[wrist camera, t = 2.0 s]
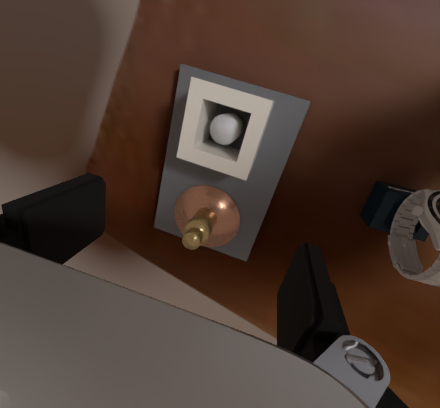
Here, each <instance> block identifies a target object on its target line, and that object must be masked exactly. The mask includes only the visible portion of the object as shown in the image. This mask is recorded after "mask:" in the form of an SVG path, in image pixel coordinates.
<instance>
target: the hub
mask: <svg viewBox="0 0 440 408" xmlns="http://www.w3.org/2000/svg"><path fill="white" fill-rule="evenodd" d="M174 216H175V221H176V224H177V226H178V228H179V230H180V231H181V232H182V234H183V238H182V243H183V245H184V246H185V247H186V248H188V249H190V250H194V249H197V248H198V247H199V246H204V247H219V246H222V245H225V244H227V243H228V242H230V241H231V240H232V239H233V238H234V237H235V235H236V234H237V232H238V229H239V226H240V214H239V210H238V207H237V205H236V204H235V202H234V201H233V199H232V198H231V197H230V196H229V195H228V194H227V193H225V192H224V191H222V190H221V189H219V188H216V187H213V186H209V185H197V186H193V187H191V188H189V189H187V190H185V191H184V192H183V193H182V194H181V195H180V196H179V198H178V199H177V201H176V204H175V209H174Z"/></svg>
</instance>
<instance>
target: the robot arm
mask: <svg viewBox="0 0 440 408" xmlns="http://www.w3.org/2000/svg"><path fill="white" fill-rule="evenodd" d="M105 194H106V183H105V181H103V178H102V177H100V176H97V175H94V174H91V173H87V174H85V175H82V176H79V177H77V178H74V179H71V180H68V181H65V182H63V183H60V184H57V185H54V186H52V187H49V188H46V189H43V190H41V191H38V192H35V193H32V194H30V195H27V196H24V197H22V198H19V199H16V200H13V201H10V202H8V203H5V204H2V210H3V214H1V215H0V408H409V407H408V406H407V405H406V404H405V403H404V402H403V401H402V400H401V399H400V398H399V397H398V396H397V395H396V394H395V393H394V392H393V391H392V390H391V389H390V388H389V387H388V385H389V382H390V373H389V370H388V368H387V365H386V363H385V362H384V360H383V359H382V358H381V356H380V355H379V354H378V353H377V352H376V351H375V350H374V349H373V348H372V347H371V346H370V345H368V344H367V343H366V342H364V341H363V340H361V339H359V338H357V337H354V336H350V332H349V329H348V326H347V323H346V320H345V317H344V314H343V310H342V307H341V304H340V301H339V298H338V295H337V292H336V289H335V286H334V284H333V283H332V282H330V278H329V275H328V272H327V268H326V265H325V262H324V258H323V255H322V252H321V249H320V247H319V246H315V245H312V244H309V243H305V244H304V245H302V244H300V245H299V247H298V249H297V251H296V253H295V256H294V258H293V260H292V262H291V264H290V266H289V269H288V271H287V273H286V275H285V277H284V279H283V281H282V284H281V286H280V288H279V290H278V294H277V345H274V344H272V343H269V342H267V341H264V340H262V339H260V338H257V337H255V336H253V335H250V334H247V333H245V332H242V331H239V330H237V329H234V328H232V327H229V326H226V325H224V324H221V323H218V322H215V321H213V320H210V319H208V318H205V317H202V316H200V315H197V314H194V313H191V312H189V311H186V310H184V309H181V308H178V307H176V306H173V305H170V304H168V303H165V302H163V301H160V300H157V299H155V298H152V297H149V296H146V295H144V294H141V293H138V292H135V291H133V290H130V289H128V288H125V287H122V286H119V285H117V284H114V283H111V282H109V281H106V280H103V279H100V278H98V277H95V276H92V275H90V274H87V273H84V272H81V271H78V270H76V269H73V268H70V267H68V266H65V265H62V264H64V263H65V262H66V261H68V260H69V259H70V258H72V257H73V256H74V255H76V254H77V253H78V252H80V251H81V250H82V249H83V248H85V247H86V246H88V245H89V244H90V243H92V242H93V241H94V240H96V239H97V238H98V237H100V236H101V235H102V234H103V232H104V228H105Z"/></svg>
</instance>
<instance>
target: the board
mask: <svg viewBox="0 0 440 408" xmlns="http://www.w3.org/2000/svg"><path fill="white" fill-rule="evenodd" d="M191 77H195V78H198V79H201V80H205V81H208V82H212V83H215V84H218V85H222V86H225V87H228V88H232V89H235V90H239V91H242V92H245V93H249V94H252V95H255V96H259V97H262V98H266V99H269V100H272V101H275V102H274V105H273V108H272V111H271V113H270V116H269V119H268V122H267V125H266V128H265V131H264V134H263V137H262V140H261V143H260V146H259V149H258V152H257V155H256V158H255V161H254V164H253V167H252V169H251V171H250V173H249V176H248V178H247V180H243V179H240V178H237V177H234V176H231V175H228V174H225V173H222V172H219V171H216V170H213V169H210V168H207V167H204V166H201V165H198V164H195V163H192V162H189V161H186V160H183V159H180V158H177V151H178V146H179V141H180V135H181V130H182V124H183V119H184V114H185V108H186V103H187V97H188V92H189V87H190V81H191ZM310 102H311V101H307V100H304V99H300V98H297V97H293V96H290V95H287V94H283V93H280V92H276V91H273V90H269V89H266V88H263V87H259V86H256V85H252V84H249V83H246V82H242V81H239V80H235V79H232V78H228V77H225V76H222V75H218V74H215V73H211V72H208V71H204V70H201V69H198V68H194V67H191V66H187V65H184V64H181V66H180V72H179V78H178V84H177V90H176V96H175V102H174V108H173V114H172V120H171V126H170V133H169V139H168V145H167V151H166V157H165V163H164V169H163V175H162V181H161V187H160V193H159V199H158V205H157V211H156V218H155V224H154V228H157V229H160V230H162V231H165V232H168V233H170V234H173V235H176V236H178V237H181V238H183V234H182V232H181V231H180V230H179V228H178V226H177V224H176V221H175V216H174V209H175V204H176V201H177V199H178V198H179V196H180V195H181V194H182V193H183V192H184V191H185V190H187V189H189V188H191V187H193V186H197V185H209V186H213V187H216V188H219V189H221V190H222V191H224V192H225V193H227V194H228V195H229V196H230V197H231V198H232V199H233V201H234V202H235V204H236V205H237V207H238V210H239V214H240V226H239V229H238V232H237V234H236V235H235V237H234V238H233V239H232V240H231V241H230V242H228V243H227V244H225V245H222V246H219V247H208V248H211V249H213V250H216V251H219V252H221V253H224V254H227V255H230V256H232V257H235V258H238V259H240V260H243V261H247V259H248V256H249V254H250V251H251V249H252V247H253V244H254V242H255V239H256V237H257V234H258V232H259V229H260V227H261V224H262V222H263V219H264V217H265V214H266V212H267V209H268V207H269V204H270V202H271V199H272V197H273V194H274V192H275V189H276V187H277V184H278V182H279V179H280V177H281V174H282V172H283V169H284V167H285V164H286V162H287V159H288V157H289V154H290V152H291V149H292V147H293V144H294V142H295V140H296V137H297V135H298V132H299V130H300V127H301V125H302V122H303V120H304V117H305V115H306V112H307V110H308V107H309V105H310ZM250 116H251V113H248V112H245V111H242V110H239V109H235V108H232V107H229V106H225V105H222V104H219V103H217V106H216V110H215V115H214V119H213V120H212V122H211V125H210V135H209V140H211V141H214V142H217V143H219V144H221V145H226V146H229V147H232V148H235V149H238V150H240V149H241V146H242V143H243V139H244V136H245V133H246V130H247V126H248V123H249V120H250Z"/></svg>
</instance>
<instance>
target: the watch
mask: <svg viewBox="0 0 440 408" xmlns="http://www.w3.org/2000/svg"><path fill="white" fill-rule="evenodd" d="M360 216H361V217H362V219H363V220H364V221H365V223H366V224H367V226H368V227H369V228H373V229H377V230H381V231H385V232H389V233H390V235H388V246H389V252H390V257H391V260H392V263H393V266H394V268H396V269H397V270H398V271H399V273H400V274H401V275H402V276H404V277H405V278H408V279H412V280H415V281H419V282H423V283H426V284H430V285H433V286H439V287H440V255H439V259H436V261H435V262H434V264H433V265H432V267H430V268H429V269H427V270H426V271H425V273H423V272H422V271H421V270H422V269H423V267H422V265H421V262H420V260H419V257H418V253H417V247H416V241H415V240H412V239H417V240H421V241H425V239H426V238H427V236H428V235H429V234H430V236H431V239H432V242H433V246H434V248H435V249H436V250H439V251H440V190H437V191H434V190H430V189H423V190H419V191H417V190H412V189H408V188H404V187H399V186H395V185H390V184H386V183H382V182H377V181H376V183H375V185H374V187H373V189H372V191H371V193H370V196H369V198H368V200H367V202H366V204H365V206H364V208H363V210H362V212H361V214H360Z"/></svg>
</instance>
